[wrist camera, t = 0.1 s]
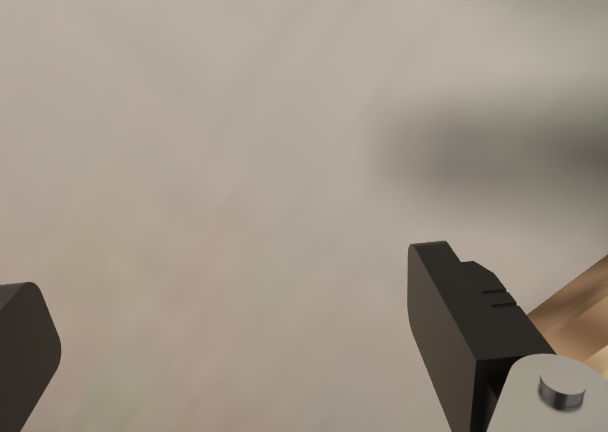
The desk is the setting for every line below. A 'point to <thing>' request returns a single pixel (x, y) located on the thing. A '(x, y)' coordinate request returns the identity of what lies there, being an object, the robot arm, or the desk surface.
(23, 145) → the desk surface
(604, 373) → the block
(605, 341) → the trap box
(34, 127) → the desk surface
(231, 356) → the desk surface
